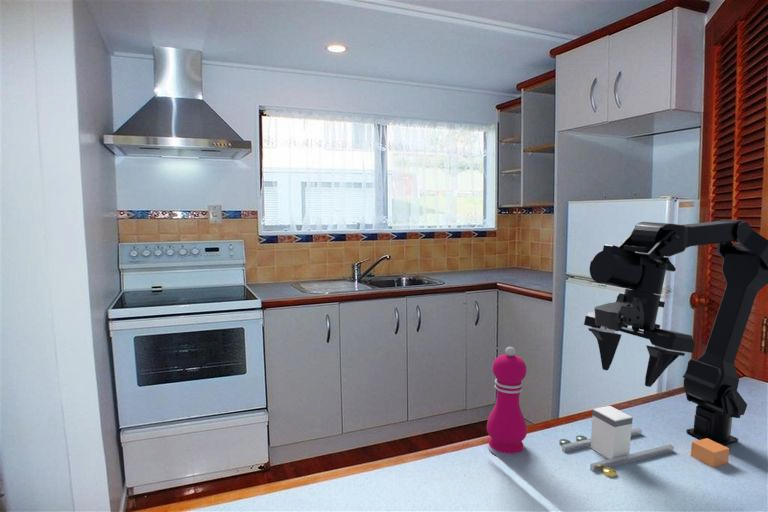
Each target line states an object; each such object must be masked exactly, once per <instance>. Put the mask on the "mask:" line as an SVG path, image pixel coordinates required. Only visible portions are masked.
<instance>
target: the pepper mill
mask: <svg viewBox="0 0 768 512" xmlns="http://www.w3.org/2000/svg"><path fill="white" fill-rule="evenodd" d="M492 373H493V376H494V377H495V379H494V383H495V384H494V388H495V389H496V402H495V404H494V407H493V409H492V411H491V412H490V414H489V416H488V418H487V422H486V423H487V424H486V431H487V434H488V436H490V437H489V439H488V445H489V446H490V448H492V449H493V450H495V451H497V452H499V453H504V454H517V453H520V452H522V450H524V443H523V441H524V440H525V438H526V437H527V433H528V430H527V423H526V419H525V417H524V415H523V412H522V410H521V406H520V393H522V392H523V389H524V388H523V385H524V383H523V381H522V380H524V379H525V377H526V376H527V375H526V374H527V365H526V362H525V361H524V360H523V358H522V357H520V356H518V355H516V349H515V348H514V347H513V346H507V347H506V348H505V351H504V354H500V355H498V356H497V357H496V358H495V359H494V361H493V364H492ZM488 451H489V453H490V454H491V455H493V456H494V457H497V458H498V456H497V455H496V454H495V453H494V452H492V451H491V450H490V449H488Z"/></svg>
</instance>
